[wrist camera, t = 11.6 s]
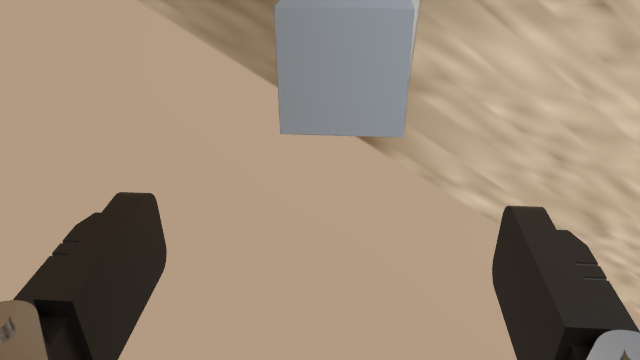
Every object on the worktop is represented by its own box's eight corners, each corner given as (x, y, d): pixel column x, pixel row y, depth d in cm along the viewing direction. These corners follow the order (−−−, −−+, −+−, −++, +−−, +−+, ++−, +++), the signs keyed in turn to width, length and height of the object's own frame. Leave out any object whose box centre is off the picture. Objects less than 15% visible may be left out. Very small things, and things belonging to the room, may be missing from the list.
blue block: (292, -18, 25) (274, 7, 20) (404, -17, 25) (414, 8, 20) (295, 87, 28) (280, 133, 23) (396, 90, 27) (403, 137, 22)
